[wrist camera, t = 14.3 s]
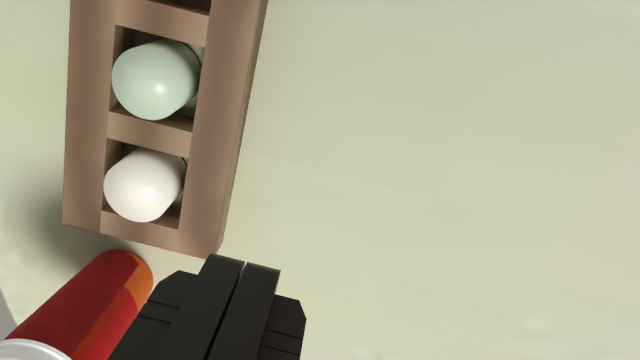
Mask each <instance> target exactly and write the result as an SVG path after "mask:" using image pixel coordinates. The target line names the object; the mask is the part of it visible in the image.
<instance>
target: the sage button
mask: <svg viewBox="0 0 640 360" xmlns="http://www.w3.org/2000/svg"><path fill="white" fill-rule="evenodd" d="M200 76H201V67H200V64H199V62H198V59H197V58H196V56H195V55H194V53H193V52H192V51H191V50H190V49H189V48H188V47H186V46H185V45H183V44H182V43H180V42H178V41H175V40H170V39H160V40H156V41H153V42H150V43H147V44H143V45H140V46H137V47H134V48H131V49H129V50H127V51H125V52H124V53H122V54H121V55H120V56H119V57H118V59H117V60H116V62H115V64H114V66H113V69H112V86H113V90H114V93H115V95H116V97H117V99H118V100H119V102H120V103H121V104H122V106H123V107H124V108H125V109H126V110H128V111H129V112H130V113H132V114H133V115H135V116H137V117H140V118H143V119H147V120H159V119H163V118H166V117H168V116H169V115H171V114H172V113H174V112H175V111H176V110H178V109H179V108H181V107H182V106H183V105H185V104H186V103H187V102H189V101H190V100H192V99H193V98H194V97H195V96H196V94H197V93H198V90H199V83H200Z"/></svg>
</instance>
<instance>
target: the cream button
mask: <svg viewBox="0 0 640 360" xmlns="http://www.w3.org/2000/svg"><path fill="white" fill-rule="evenodd" d="M186 172H187V169H186V166H185V163H184V161H183V160H182V158H181V157H180V156H176V155H173V154H169V153H165V152H161V151H157V150H153V149H149V148H145V147H141V146H139V147H138V148H136V149H135V150H134V151H132V152H131V153H130V154H129V155H127V156H126V157H125V158H123V159H122V160H121V161H119V162H118V163H117V164H115V165H114V166H113V167H112V168H111V169H110V170H109V171H108V172H107V174H106V176H105V179H104V184H103V188H104V194H105V197H106V199H107V201H108V203H109V205H110V206H111V207H112V208H113V210H114V211H116V212H117V213H118V214H119V215H121V216H122V217H124V218H126V219H128V220H131V221H135V222H149V221H153V220H155V219H157V218H158V217H160V216H161V215H162V214H163V213H164V212H165V211H166V209H167V208H168V207H169V206H170V205H171V204H172V202H173V201H174V200H175V199H176V198H177V196H178V195H179V194H180V193H181V192H182V190H183V189H184V186H185V179H186Z"/></svg>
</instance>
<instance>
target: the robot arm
mask: <svg viewBox="0 0 640 360" xmlns="http://www.w3.org/2000/svg"><path fill="white" fill-rule="evenodd" d="M244 266H245V261H241V260H237V259H233V258H229V257H225V256H221V255H217V254H213V253H210V255H209V256H208V258H207V260H206V261H205V263H204V265H203V267H202V269H201V270H200V272H199V274H198V275H196V274H192V273H188V272H184V271H180V270H178V271H176V272H175V273H173V274H172V275H170V276H168V277H167V278H165V279H163V280H162V281H160V282H159V283H158V284H157V286H156V287H155V289H154V290H153V292H152V293H151V295H150V296H149V298H148V299H147V302H146V303H145V304H144V305H143V307H142V308H141V310H140V311H139V313H138V314H137V318H135V319H134V320H133V322H132V323H131V325H130V326H129V328H128V329H127V331H126V332H125V334H124V335H123V337H122V338H121V340H120V341H119V343H118V344H117V346H116V347H115V349H114V350H113V352H112V353H111V355H110V356H109V358H108V359H107V360H300V354H301V348H302V341H303V336H304V330H305V324H306V317H305V314H304V312H303V309H302V307H301V304H300V301H299V300H295V299H291V298H287V297H284V296H280V295H276V294H275V292H276V288H277V284H278V280H279V276H280V271H281V270H277V269H273V268H269V267H265V266H261V265H257V264H253V263H249V262H247V264H246V266H245V268H244Z"/></svg>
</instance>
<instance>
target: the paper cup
mask: <svg viewBox="0 0 640 360" xmlns="http://www.w3.org/2000/svg"><path fill="white" fill-rule="evenodd" d="M152 286H153V276H152V273H151V270H150V269H149V267H148V265H147V264H146V263H145V262H144V261H143V260H142V259H141V258H140V257H138V256H137V255H135V254H133V253H131V252H128V251H125V250H118V249H115V250H108V251H105V252H103V253H102V254H100V255H99V256H97V257H96V258H95V259H93V260H92V261H91V262H90V263H89V264H88V265H86V266H85V267H84V268H83V269H82V270H81V271H80V272H78V273H77V274H76V275H75V276H74V277H73V278H72V279H71V280H69V281H68V282H67V283H66V284H65V285H64V286H63V287H62V288H61V289H59V290H58V291H57V292H56V293H55V294H54V295H53V296H52V297H50V298H49V299H48V300H47V301H46V302H45V303H44V304H43V305H42V306H41V307H39V308H38V309H37V310H36V311H35V312H34V313H33V314H32V315H31V316H29V317H28V318H27V319H26V320H25V321H24V322H22V323H21V324H20V325H19V326H18V327H17V328H16V329H15V330H14V331H12V332H11V333H10V334H9V335H8V336H7V337H6V338H5V339H4V340H3V341H0V360H107V359H108V358H109V356H110V355H111V353H112V352H113V350H114V349H115V347H116V346H117V344H118V343H119V341H120V340H121V338H122V337H123V335H124V334H125V332H126V331H127V329H128V328H129V326H130V325H131V323H132V322H133V320H134V319H135V318H137V314H138V313H139V311H140V310H141V308H142V307H143V305H144V304H145V302H146V300H147V298H148V296H149V294H150V292H151V290H152Z"/></svg>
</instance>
